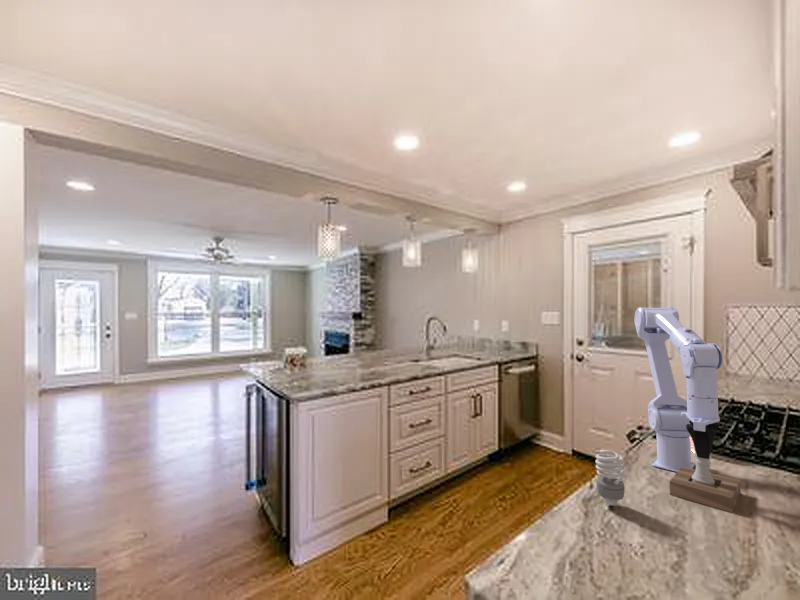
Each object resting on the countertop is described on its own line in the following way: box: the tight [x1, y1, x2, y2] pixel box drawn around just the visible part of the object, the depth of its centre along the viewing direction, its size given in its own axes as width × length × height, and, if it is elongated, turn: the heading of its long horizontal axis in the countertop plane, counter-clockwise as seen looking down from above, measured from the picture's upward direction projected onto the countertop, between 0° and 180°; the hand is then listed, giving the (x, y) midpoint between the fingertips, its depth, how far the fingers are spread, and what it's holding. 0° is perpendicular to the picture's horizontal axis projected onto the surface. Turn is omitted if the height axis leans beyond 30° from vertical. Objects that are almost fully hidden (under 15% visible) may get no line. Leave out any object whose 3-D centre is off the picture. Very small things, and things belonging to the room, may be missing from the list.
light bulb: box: [595, 449, 626, 507], centre depth 85 cm, size 6×6×12 cm
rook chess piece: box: [691, 452, 715, 488], centre depth 90 cm, size 4×4×8 cm
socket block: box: [669, 467, 741, 513], centre depth 89 cm, size 12×11×3 cm
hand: (704, 455), depth 90 cm, fingers closed on rook chess piece, 3 cm apart
